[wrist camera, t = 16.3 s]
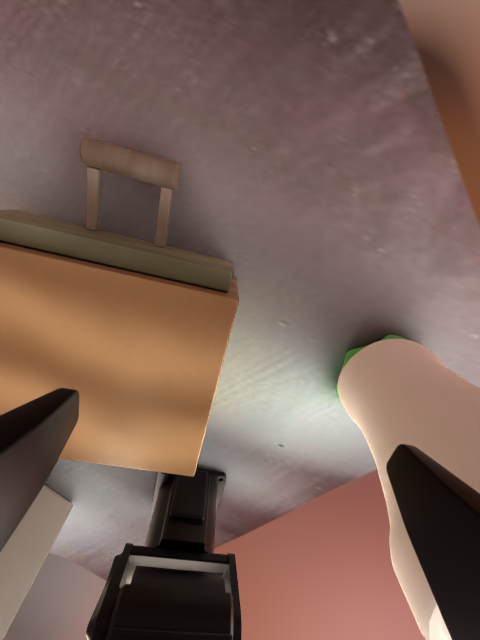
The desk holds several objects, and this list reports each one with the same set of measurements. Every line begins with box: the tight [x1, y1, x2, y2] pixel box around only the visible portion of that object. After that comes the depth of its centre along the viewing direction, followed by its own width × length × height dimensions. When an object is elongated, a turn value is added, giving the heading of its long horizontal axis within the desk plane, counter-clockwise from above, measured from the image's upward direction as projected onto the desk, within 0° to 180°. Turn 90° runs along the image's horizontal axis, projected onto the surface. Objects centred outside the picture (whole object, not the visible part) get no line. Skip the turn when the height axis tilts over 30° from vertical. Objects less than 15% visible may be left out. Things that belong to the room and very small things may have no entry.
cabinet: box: [0, 241, 239, 476], centre depth 18 cm, size 14×14×5 cm
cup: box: [336, 334, 480, 640], centre depth 16 cm, size 11×11×14 cm
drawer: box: [0, 137, 233, 292], centre depth 17 cm, size 18×13×3 cm
